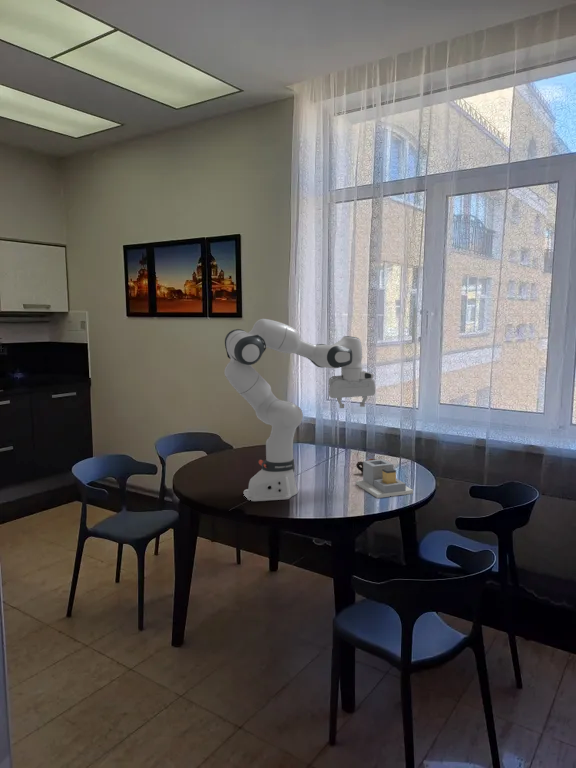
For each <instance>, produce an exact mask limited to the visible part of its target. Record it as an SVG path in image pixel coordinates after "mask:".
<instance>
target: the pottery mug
mask: <svg viewBox="0 0 576 768" xmlns="http://www.w3.org/2000/svg"><path fill="white" fill-rule="evenodd" d="M369 460H377V458H369V459H367V460H366V461H369ZM356 468H357V469H358V470H359V471H360V472H361V473H362V474H363V461H362V460H361V461H357V463H356Z"/></svg>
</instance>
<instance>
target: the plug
mask: <svg viewBox="0 0 576 768" xmlns="http://www.w3.org/2000/svg"><path fill="white" fill-rule="evenodd" d="M382 475H383V482H384V483H385V484H392V483H396V479H397V470H396V469H394V468H393V469H392V468H386V469H382Z"/></svg>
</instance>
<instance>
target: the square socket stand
mask: <svg viewBox="0 0 576 768" xmlns="http://www.w3.org/2000/svg"><path fill="white" fill-rule="evenodd" d="M368 460H369V459H368ZM362 462H363V473H362V480H361V479H360V480H356V481H355V484H356V486H358V487H360V488H361V489H363V490H364V491H366V493H369V494H370V495H371V496H373V497H375V498H377V499H382V498H389V497H390V496H391V497H398V496H406V495H413V494H414V489H412V488H410V487H408V486H407V485H406V484H407V483H406V482H404V481H401V480H400V479H399V478H396V483H392V484H385V483H384V482H383V475H382V469H386V468H392V469H394V463H392V462H389V461H388V460H386V459H384V458H380V459H376V460H369V461H367V460H363V461H362Z"/></svg>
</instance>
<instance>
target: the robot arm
mask: <svg viewBox="0 0 576 768" xmlns="http://www.w3.org/2000/svg"><path fill="white" fill-rule="evenodd" d="M224 348H225V351H226V356H227V358H228V359H230V360H229V362H228V363H227V364H226V366H225V368H224V372H223V374H224V376H225V378H226V380H227V381H228V382H229V384H230V386H232V388H234V390H235V391H236V393H238V394H239V395H240V396H241V397H242V398H243V399H244V400H245V401H246V402H247V403H248V404H249V405H250V406H251V408H252V409H253V410H254V412H255V416H256V417H257V419H258V420H260V421H261V422H263V423H264V424H265V425H270V426H271V431H270V435H269V437H268V438H267V439H266V441H265V456H266V457H265V458H266V459H265V460H263V459H259V460H258V464H259V465H260V466H261V470H259V471H258V472H257V473H256V474H254V476H252V477H251V478H250V479H249V481H248V488H246V489H244V490H243V494H244V495H243V494H242V495H243V497H244V496H245V497H246V498H247V499H246V498H245V497H244V498H245V499H246V500H248V501H250V500H251V501H250V502H266V501H267V502H268V501H278V500H279V501H281V500H290V499H291V498H292V497H293V496H295V495H297V494H298V493H299V491H298V488H297V486H296V484H297V483H296V479H295V474H294V473H295V466H296V465H295V458H294V448H293V447H294V438H295V434H296V429H297V428H298V427H299V426H300V425H301V423H302V421H303V418H304V417H303V416H304V415H303V411H302V409H301V407H300V406H298V405H297V404H295V403H293V402H291V401H288V400H282V399H280V398H278V397H277V396H275V394H274V393H273V391H272V386H271V385H270V383H269V382H267V380H266V379H264V377H263V376H262V375H261V374H260V373H259V372H258V371H257V370H256V369H255V368H254V366H253V365H255V364H256V363H258V362H259V361H260V360H261V358H262V356H263V354H264V352H266V349H270V350H273V351H276V352H278V353H283V354H295V355H298V356H301V357H303V358H306V359H308V360H309V361H310V362H311V363H312V364H313V365H314V366H315V367H317V368H321V369H322V368H327V369H328V368H329V369H339V368H340V369H341V371H340V373H341V375H333V376H330V377H329V380H328V385H329V386H328V387H329V388H328V396H329V397H330V399H336V400H337V402H338V404H339V409H345V403H343V402H342V401H343V398H355V397H356V398H357V397H361V399H362V400H361V402H359V407H361V408H364V407H365V406H366V402H367V400H368V397H371V396H374V395H375V393H376V383H375V380H374V374H373V373H371V372H367V371H366V370H363V365H362V360H363V346H362V342H361V339H360V338H359V337H356V336H348V335H345V336H343V337H342V338H341V339H340V340H338V341H337V342H335V343H332V344H323V343H319V344H318V343H317V344H313V343H311V342H308V341H305V340H304V339H301V335H300V333H299V331H298V329H295V328H294V327H292V326H290V325H289V324H285V323H284V322H281V321H278V320H273V319H268V318H260V319H258V320H256V321H255V323H254V324H253V326H252V329H251V330H250V331H248V332H247V331H245V330H244V329H239V328H237V329H232V330H230V331H229V332H227V334H226V335H225V338H224Z"/></svg>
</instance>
